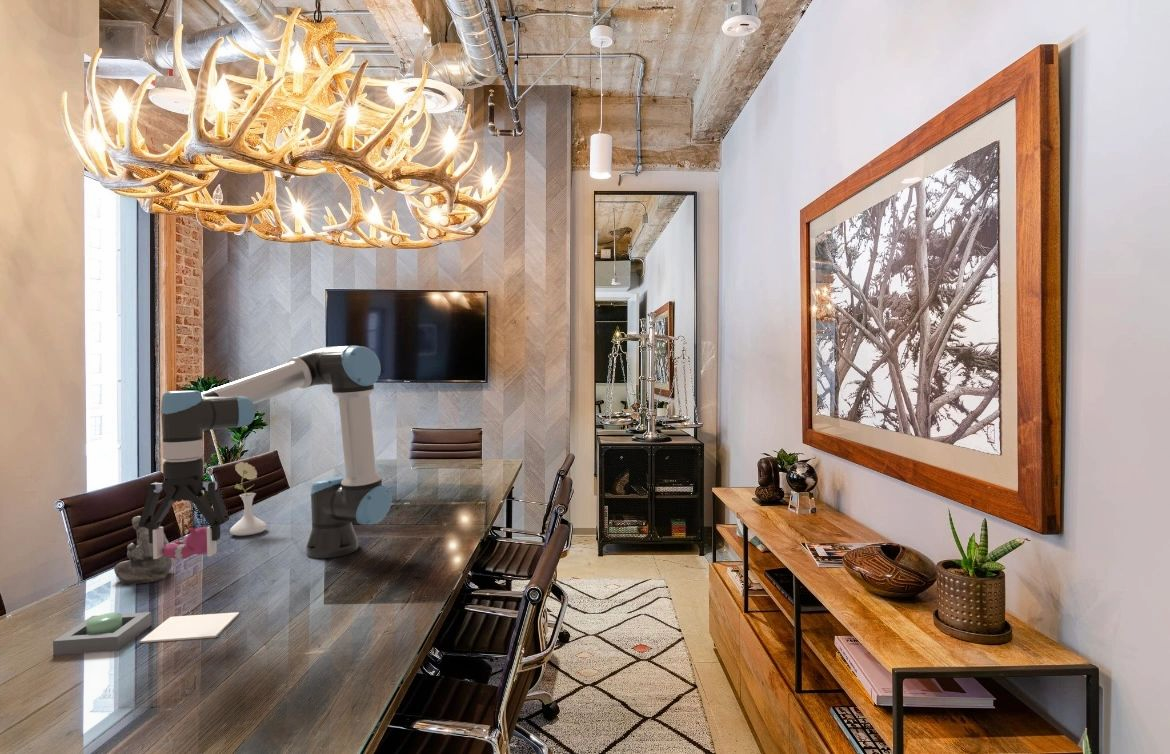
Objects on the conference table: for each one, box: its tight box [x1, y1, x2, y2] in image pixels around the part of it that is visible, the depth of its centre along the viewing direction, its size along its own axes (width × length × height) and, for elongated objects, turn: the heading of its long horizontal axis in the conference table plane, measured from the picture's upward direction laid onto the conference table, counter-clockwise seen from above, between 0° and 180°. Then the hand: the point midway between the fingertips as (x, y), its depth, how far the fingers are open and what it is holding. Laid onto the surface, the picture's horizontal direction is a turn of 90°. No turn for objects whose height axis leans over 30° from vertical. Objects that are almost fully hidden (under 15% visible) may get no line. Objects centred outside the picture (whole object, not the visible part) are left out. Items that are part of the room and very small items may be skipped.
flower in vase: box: [229, 461, 268, 537], centre depth 205 cm, size 13×11×25 cm
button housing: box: [52, 611, 152, 656], centre depth 128 cm, size 12×12×3 cm
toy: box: [163, 526, 218, 560], centre depth 136 cm, size 11×9×10 cm
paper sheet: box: [139, 611, 240, 644], centre depth 133 cm, size 15×12×1 cm
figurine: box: [113, 515, 173, 586], centre depth 164 cm, size 13×12×18 cm
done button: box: [86, 612, 123, 635], centre depth 127 cm, size 6×6×3 cm
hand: (185, 555), depth 133 cm, fingers closed on toy, 10 cm apart
